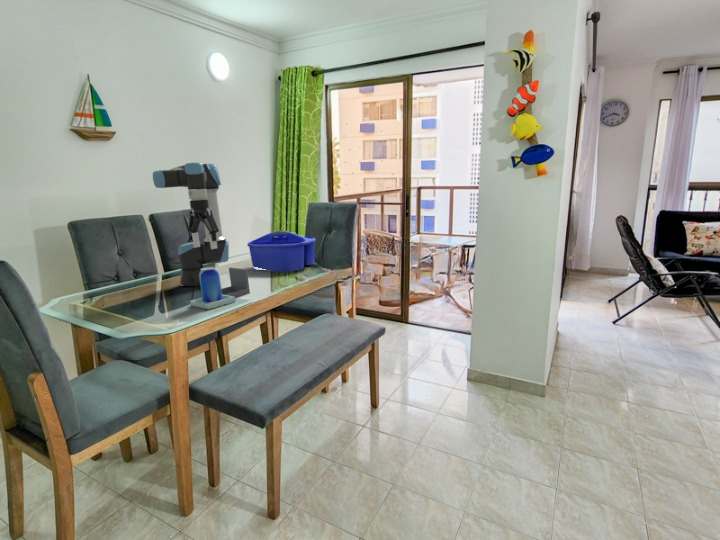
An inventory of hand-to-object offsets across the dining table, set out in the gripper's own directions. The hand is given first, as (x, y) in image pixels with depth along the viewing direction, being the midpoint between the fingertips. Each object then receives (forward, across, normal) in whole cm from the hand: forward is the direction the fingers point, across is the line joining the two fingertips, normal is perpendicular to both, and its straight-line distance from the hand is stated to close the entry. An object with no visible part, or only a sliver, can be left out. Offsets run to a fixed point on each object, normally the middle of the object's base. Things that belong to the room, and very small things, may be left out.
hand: (205, 247), depth 191 cm
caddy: (+27, -36, +75) cm, 87 cm away
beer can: (+25, 0, 0) cm, 25 cm away
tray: (+26, 0, 0) cm, 26 cm away
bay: (+26, -7, +15) cm, 31 cm away
